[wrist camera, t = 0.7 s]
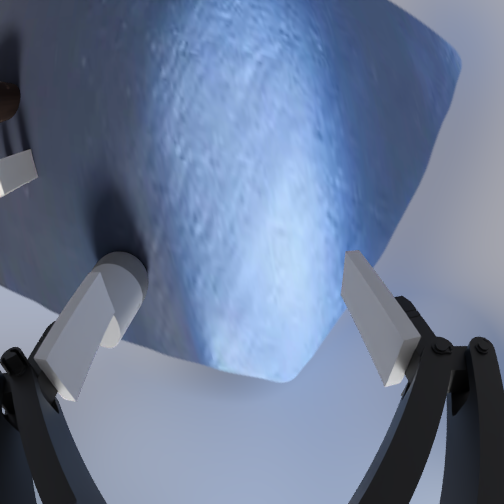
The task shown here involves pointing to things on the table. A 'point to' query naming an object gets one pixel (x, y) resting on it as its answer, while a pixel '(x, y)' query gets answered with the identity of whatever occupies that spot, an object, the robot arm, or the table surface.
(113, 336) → the smart speaker
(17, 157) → the tile
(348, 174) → the table surface
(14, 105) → the coffee mug
